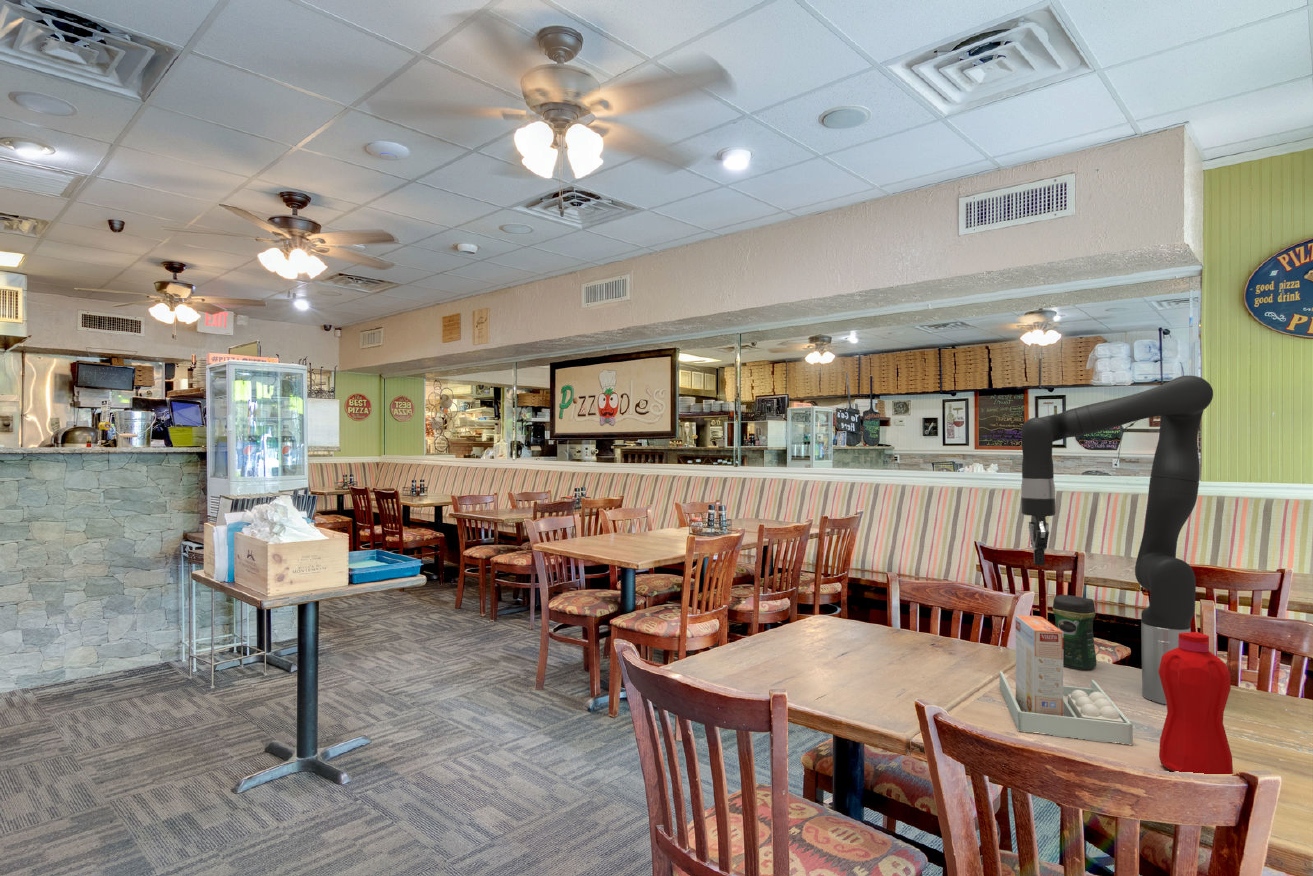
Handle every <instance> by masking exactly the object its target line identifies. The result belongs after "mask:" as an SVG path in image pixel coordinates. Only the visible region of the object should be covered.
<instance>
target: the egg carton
mask: <svg viewBox="0 0 1313 876" xmlns="http://www.w3.org/2000/svg"><path fill="white" fill-rule="evenodd" d="M1067 703H1068V704H1069V706H1070V707H1071V709H1072V710H1073V712H1074V713H1075V715H1076V716H1077V717H1078V718H1084V719H1093V720H1102V721H1110V722H1119V723H1124V722H1123V720H1122V719H1121V718H1120V716H1119V713H1118V711H1117V710H1116V709H1115V708H1113V705H1112V704H1111V702H1110V701H1108V700H1107V698H1106V696H1105V695H1104V694H1102V693H1101V692H1093V693H1091V694H1090V695H1089V696H1088V695H1087V694H1086V693H1085V692H1084V691H1082V690H1075V691H1073V692H1072V693H1071V694H1068V695H1067Z"/></svg>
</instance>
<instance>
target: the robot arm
mask: <svg viewBox="0 0 1313 876" xmlns="http://www.w3.org/2000/svg"><path fill="white" fill-rule="evenodd" d="M1213 398H1214V389H1213V387H1212V385H1211V384H1210V383H1209V382H1208V381H1207V380H1206V379H1204V378H1202V377H1200V376H1196V375H1182V376H1179V377H1176V378H1173V379H1171V380H1170V381H1168V382H1165V383H1163V384H1160V385H1158V386H1156V387H1153V388H1150V389H1147V390H1144V391H1140V392H1137V393H1134V394H1131V395H1126V396H1122V397H1117V398H1113V399H1108V400H1104V401H1099V402H1095V403H1089V404H1086V405H1081V406H1078V407H1074V408H1070V409H1067V410H1064V411H1062V412H1059V413H1055V414H1050V415H1046V416H1042V417H1032V418H1029V419H1027V420H1026V421H1025V422H1024V423H1023V424H1022V426H1021V430H1020V435H1021V451H1022V461H1021V462H1022V463H1021V479H1022V480H1021V485H1020V486H1021V487H1020V494H1021V498H1020V499H1021V502H1020V503H1021V504H1020V505H1021V514H1022V515H1024V516H1029V517H1030V521H1028V531H1029V539H1030V545H1031V547H1032V549H1033V564H1034V565H1036V566H1044V565H1045V564H1046V563H1045V562H1046V561H1045V551H1046V550H1047V548H1048V541H1049V534H1050V529H1049V528H1050V527H1049V523H1047V519H1046V518H1047V517H1052V516H1053V517H1054V516H1055V515H1056V487H1055V481H1054V479H1055V477H1054V475H1055V474H1054V459H1053V447H1054V446H1053V443H1054V442H1057V441H1062V440H1065V439H1068V438H1075V437H1076V438H1077V437H1081V436H1087V435H1090V434H1095V433H1099V432H1103V431H1106V430H1110V429H1113V428H1114V429H1115V428H1116V427H1120V426H1124V425H1127V424H1130V423H1133V422H1136V421H1141V420H1144V419H1149V418H1154V417H1159V420H1160V421H1159V433H1158V434H1159V436H1158V441H1157V444H1156V447H1155V452H1154V456H1153V460H1152V466H1151V472H1150V478H1149V484H1148V493H1147V494H1148V495H1147V504H1146V511H1145V520H1144V528H1143V534H1142V538H1141V542H1140V546H1139V550H1138V554H1137V557H1136V562H1135V567H1134V575H1135V579H1136V581H1137V583H1138V584H1139V586H1140V587H1142V588H1143V589H1145V590H1147V591H1149V593H1150V596H1149V597H1150V598H1149V605H1148V607H1147V608H1144V609H1143V610H1142V611H1141V616H1140V617H1141V619H1140V620H1141V621H1140V622H1141V624H1140V625H1141V628H1140V629H1141V691H1142V693H1141V694H1142V695H1141V696H1142V697H1144V698H1145V699H1147V700H1149V701H1151V700H1152V701H1151V702H1154V703H1158V704H1162V705H1167V702H1166V698H1165V694H1164V691H1163V687H1162V683H1161V679H1160V676H1159V672H1158V670H1159V666H1160V662H1161V658H1162V656H1163V655H1164V654H1165V653H1167V652H1168V651H1170V650H1173V649H1175V648H1177V647H1179V646H1178V637H1179V633H1190V632H1192V631H1191V630H1192V629H1191V625H1192V624H1191V623H1192V619H1193V618H1194V616H1195V611H1196V592H1197V591H1196V589H1197V588H1196V587H1197V583H1196V575H1195V572H1194V570H1193V567H1191V565H1190V564H1189V563H1187V562H1186V561H1184V560H1183V559H1180V558H1177V545H1178V539H1179V535H1180V533H1181V531H1182V529H1183V527H1184V525H1185V523H1186V522H1187V520H1188V519H1189V517H1190V516H1191V514H1192V512H1193V510H1194V508H1195V506H1196V503H1197V500H1198V494H1199V485H1200V477H1201V476H1200V457H1199V456H1200V455H1199V448H1198V435H1199V430H1200V425H1201V422H1202V418H1203V415H1204V414H1203V413H1204V410H1206V409H1207V408H1208V407H1209V406H1210V405H1211V403H1212V400H1213Z"/></svg>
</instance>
